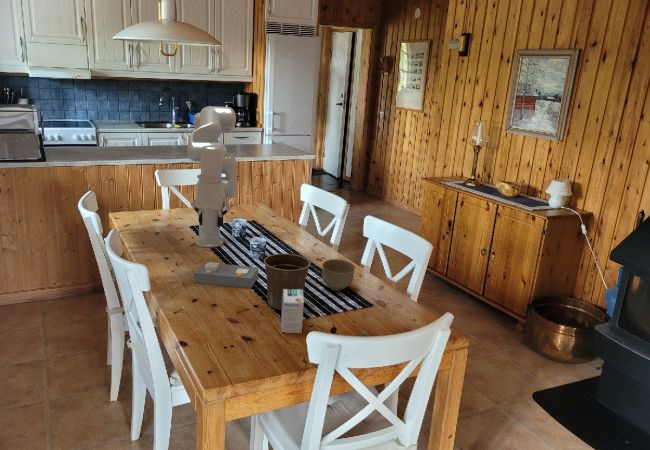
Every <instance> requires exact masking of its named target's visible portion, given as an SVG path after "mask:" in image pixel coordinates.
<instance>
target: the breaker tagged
mask: <svg viewBox="0 0 650 450" xmlns="http://www.w3.org/2000/svg"><path fill="white" fill-rule="evenodd" d="M248 272H249V269H239V268H238V269H237V271H236V272H235V273H236V274H237V273H242V274H245V275H247V274H248Z"/></svg>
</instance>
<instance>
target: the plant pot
mask: <svg viewBox="0 0 650 450" xmlns="http://www.w3.org/2000/svg"><path fill="white" fill-rule="evenodd" d="M263 263H264V266H265V267H264V268H265V274H266V291H267V294H266V295H267V297H266V298H267V304H268V305H269V307H271V308H272V309H274V310H279V311H282V298H283V289H301V290H303V293H304V291H305V286H306V285H305V284H306V280H307V277H308V272H309V267H311V261H310V259H308V258H307V257H304V256H302V255H298V254H294V253H293V254H292V253H275V254H271V255H268V256H266V257H265V258H264V259H263Z"/></svg>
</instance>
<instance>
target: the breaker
mask: <svg viewBox="0 0 650 450" xmlns="http://www.w3.org/2000/svg"><path fill="white" fill-rule="evenodd" d="M219 264H220V262H212V261H211V262H210V261H209V262H208V263H207V264H206V265H205V270H211V271H217V270H218V269H219Z"/></svg>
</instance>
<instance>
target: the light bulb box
mask: <svg viewBox="0 0 650 450" xmlns="http://www.w3.org/2000/svg"><path fill="white" fill-rule="evenodd" d="M304 299H305V298H304V292H303V290H301V289H283V298H282V310H281V317H280V318H281V320H280V321H281V328H280V329H281V331H280V332H281V333H282V332H285V333H287V334H302V330H303V321H304V320H303V316H304V304H305V300H304ZM285 333H284V334H285Z"/></svg>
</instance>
